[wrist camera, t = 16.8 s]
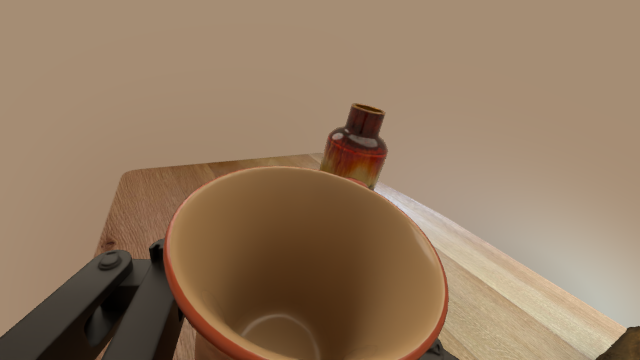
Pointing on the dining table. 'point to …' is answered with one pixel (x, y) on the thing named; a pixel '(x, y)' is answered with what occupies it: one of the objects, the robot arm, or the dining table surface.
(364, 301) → the mug
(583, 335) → the dining table surface
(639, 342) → the pottery vessel
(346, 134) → the vase
